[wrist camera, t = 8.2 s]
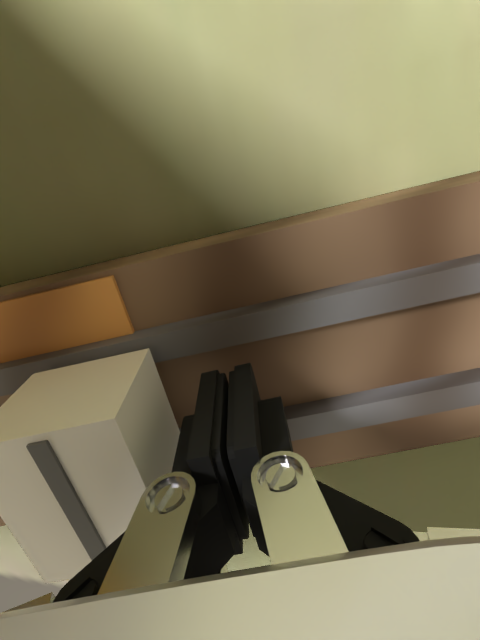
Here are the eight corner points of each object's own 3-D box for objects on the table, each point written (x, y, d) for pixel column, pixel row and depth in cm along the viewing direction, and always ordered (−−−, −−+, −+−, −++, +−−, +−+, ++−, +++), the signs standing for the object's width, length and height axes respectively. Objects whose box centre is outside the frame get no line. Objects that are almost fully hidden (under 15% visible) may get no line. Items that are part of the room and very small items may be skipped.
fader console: (627, 135, 13) (727, 126, 10) (590, 380, 16) (657, 420, 14) (-109, 313, 15) (-182, 343, 12) (7, 493, 18) (-31, 546, 16)
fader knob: (155, 335, 13) (113, 421, 8) (195, 446, 15) (177, 564, 10) (47, 359, 13) (-47, 453, 9) (99, 465, 15) (44, 587, 11)
